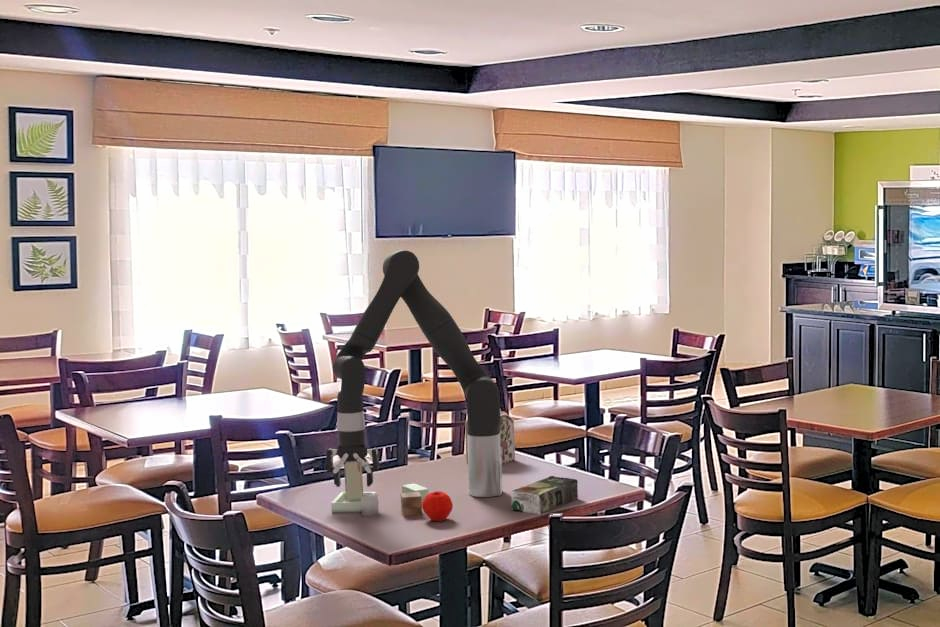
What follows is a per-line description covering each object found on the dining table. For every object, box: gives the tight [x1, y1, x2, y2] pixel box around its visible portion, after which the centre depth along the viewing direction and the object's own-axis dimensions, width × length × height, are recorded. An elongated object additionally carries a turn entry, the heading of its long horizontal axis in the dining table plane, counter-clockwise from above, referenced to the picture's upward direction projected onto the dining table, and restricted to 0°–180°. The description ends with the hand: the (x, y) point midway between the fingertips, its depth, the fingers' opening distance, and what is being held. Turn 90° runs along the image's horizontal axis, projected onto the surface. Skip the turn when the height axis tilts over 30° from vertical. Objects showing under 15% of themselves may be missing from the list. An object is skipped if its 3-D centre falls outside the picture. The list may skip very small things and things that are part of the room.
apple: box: [422, 490, 454, 522], centre depth 273 cm, size 8×8×7 cm
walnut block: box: [400, 492, 423, 517], centre depth 281 cm, size 5×5×5 cm
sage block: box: [401, 483, 429, 502], centre depth 294 cm, size 8×4×4 cm, turn 31°
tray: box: [330, 491, 377, 513], centre depth 290 cm, size 10×12×2 cm
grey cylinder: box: [361, 493, 380, 517], centre depth 281 cm, size 4×4×5 cm
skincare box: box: [343, 461, 364, 502], centre depth 290 cm, size 6×4×12 cm
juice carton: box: [510, 475, 579, 515], centre depth 285 cm, size 20×10×6 cm, turn 142°
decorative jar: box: [464, 410, 516, 464], centre depth 341 cm, size 12×12×18 cm
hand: (353, 486), depth 290 cm, fingers open, 8 cm apart
